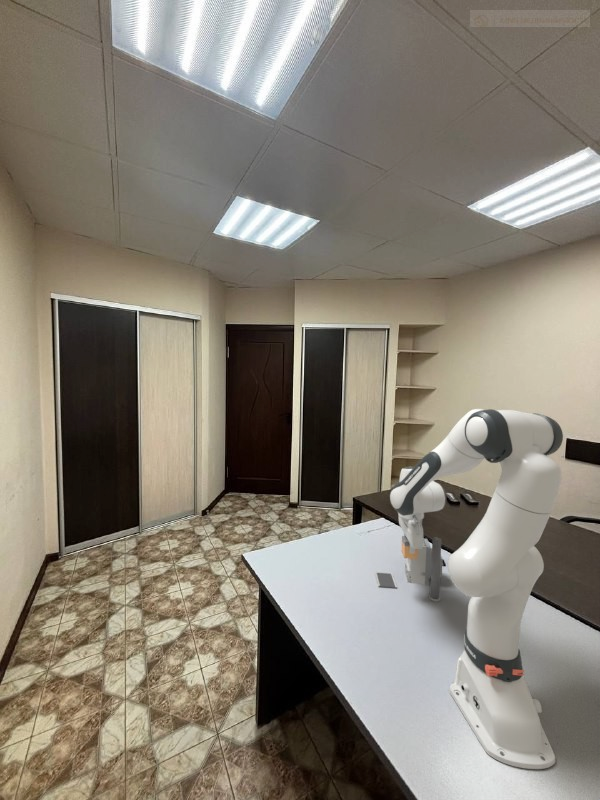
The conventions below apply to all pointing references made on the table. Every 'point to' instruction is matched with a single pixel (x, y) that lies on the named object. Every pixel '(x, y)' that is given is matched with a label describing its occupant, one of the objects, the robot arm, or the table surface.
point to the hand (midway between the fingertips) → (409, 548)
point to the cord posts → (435, 569)
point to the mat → (385, 580)
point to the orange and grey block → (406, 549)
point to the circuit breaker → (421, 566)
